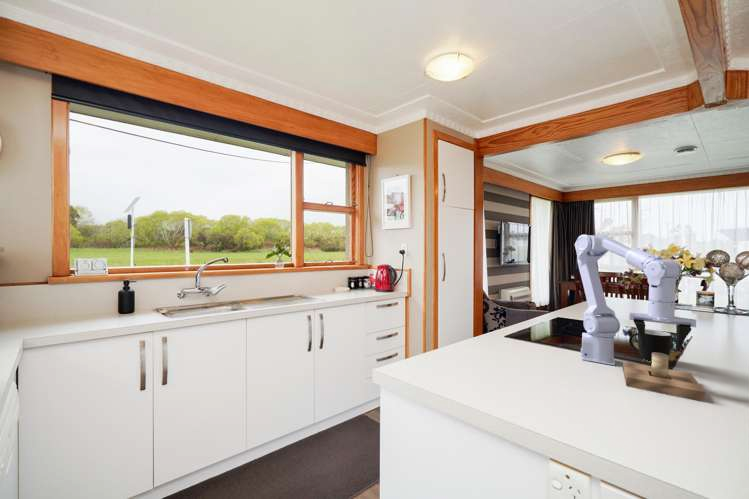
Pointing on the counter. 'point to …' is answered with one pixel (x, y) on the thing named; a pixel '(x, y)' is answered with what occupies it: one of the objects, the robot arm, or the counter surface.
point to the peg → (659, 365)
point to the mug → (653, 343)
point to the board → (663, 382)
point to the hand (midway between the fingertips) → (660, 348)
